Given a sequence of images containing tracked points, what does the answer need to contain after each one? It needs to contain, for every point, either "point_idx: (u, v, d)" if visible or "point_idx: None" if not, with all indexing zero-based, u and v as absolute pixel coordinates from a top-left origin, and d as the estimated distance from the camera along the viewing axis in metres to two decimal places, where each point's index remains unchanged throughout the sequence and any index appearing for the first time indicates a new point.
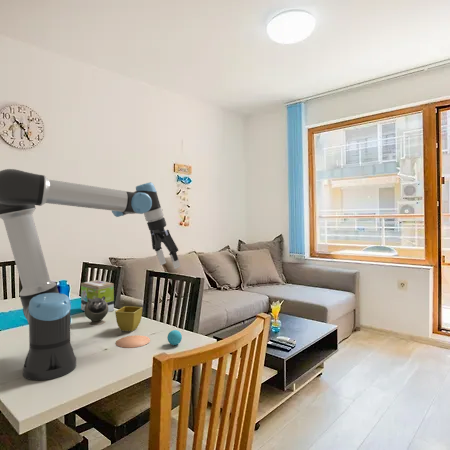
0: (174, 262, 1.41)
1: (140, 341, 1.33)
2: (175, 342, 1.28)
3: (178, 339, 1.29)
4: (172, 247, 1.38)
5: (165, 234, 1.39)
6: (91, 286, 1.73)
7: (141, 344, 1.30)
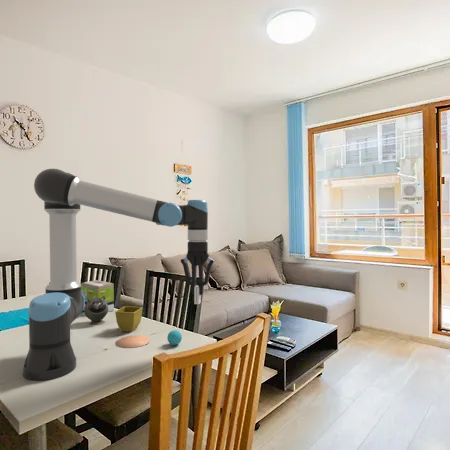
0: (199, 296, 1.28)
1: (140, 341, 1.33)
2: (175, 342, 1.28)
3: (178, 339, 1.29)
4: (207, 279, 1.27)
5: (212, 264, 1.27)
6: (91, 286, 1.73)
7: (141, 344, 1.30)
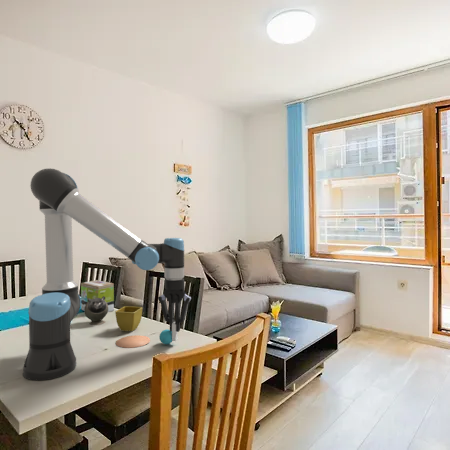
0: (176, 333, 1.30)
1: (140, 341, 1.33)
2: (168, 339, 1.29)
3: (169, 335, 1.29)
4: (184, 316, 1.29)
5: (188, 301, 1.29)
6: (91, 286, 1.73)
7: (141, 344, 1.30)
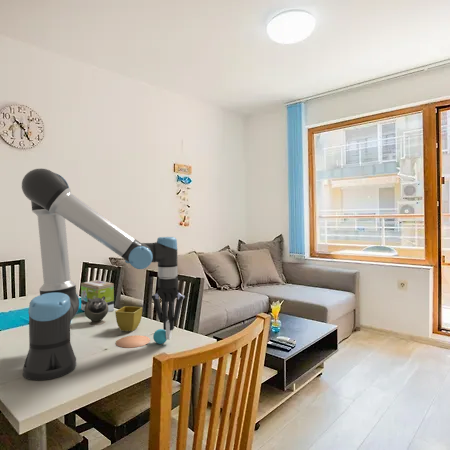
0: (169, 332, 1.30)
1: (140, 341, 1.33)
2: (162, 338, 1.29)
3: (162, 333, 1.30)
4: (178, 315, 1.30)
5: (181, 300, 1.29)
6: (91, 286, 1.73)
7: (141, 344, 1.30)
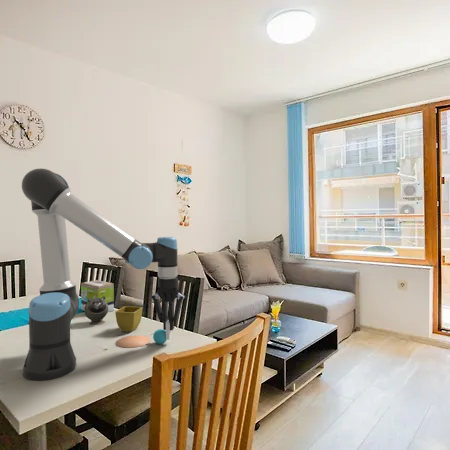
0: (169, 332, 1.30)
1: (140, 341, 1.33)
2: (162, 338, 1.29)
3: (162, 333, 1.30)
4: (177, 315, 1.30)
5: (181, 300, 1.29)
6: (91, 286, 1.73)
7: (141, 344, 1.30)
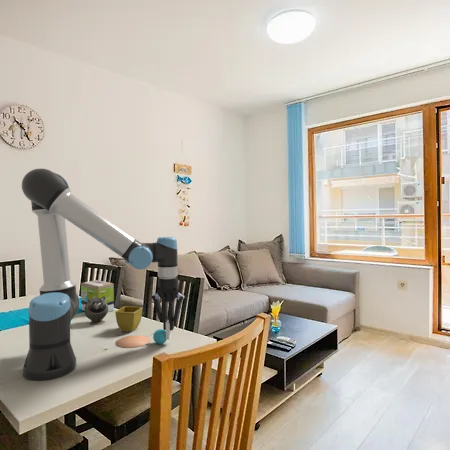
0: (169, 332, 1.30)
1: (140, 341, 1.33)
2: (162, 338, 1.29)
3: (162, 333, 1.30)
4: (177, 315, 1.30)
5: (181, 300, 1.29)
6: (91, 286, 1.73)
7: (141, 344, 1.30)
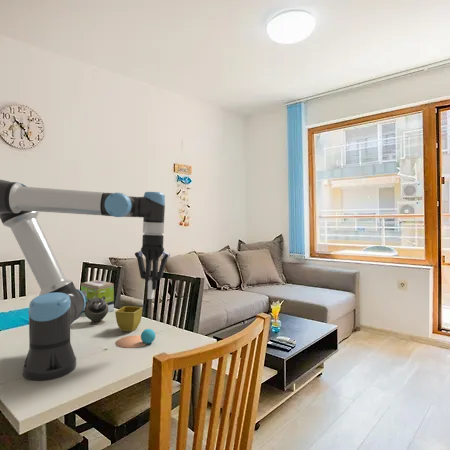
0: (152, 291, 1.25)
1: (140, 341, 1.33)
2: (145, 335, 1.30)
3: (141, 335, 1.30)
4: (161, 274, 1.24)
5: (166, 258, 1.24)
6: (91, 286, 1.73)
7: (141, 344, 1.30)
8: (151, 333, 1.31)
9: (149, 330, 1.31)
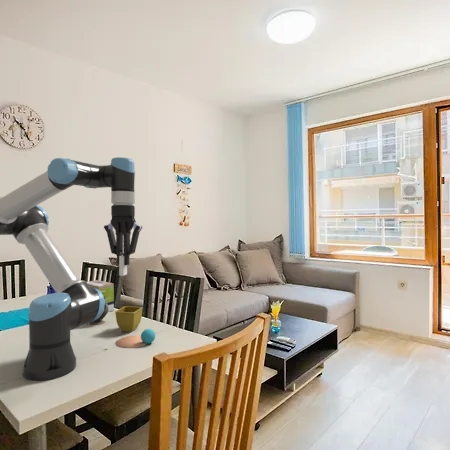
0: (124, 267, 1.14)
1: (140, 341, 1.33)
2: (145, 335, 1.30)
3: (141, 335, 1.30)
4: (133, 248, 1.13)
5: (138, 230, 1.13)
6: (91, 286, 1.73)
7: (141, 344, 1.30)
8: (151, 333, 1.31)
9: (149, 330, 1.31)
